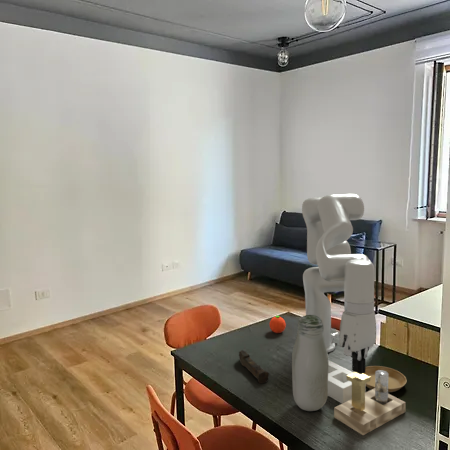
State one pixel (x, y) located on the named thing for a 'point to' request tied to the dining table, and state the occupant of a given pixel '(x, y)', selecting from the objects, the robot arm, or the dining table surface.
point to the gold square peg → (358, 389)
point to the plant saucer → (394, 378)
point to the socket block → (369, 413)
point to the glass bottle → (310, 364)
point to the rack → (339, 383)
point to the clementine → (277, 324)
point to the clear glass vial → (381, 387)
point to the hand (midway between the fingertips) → (358, 371)
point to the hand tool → (253, 367)
